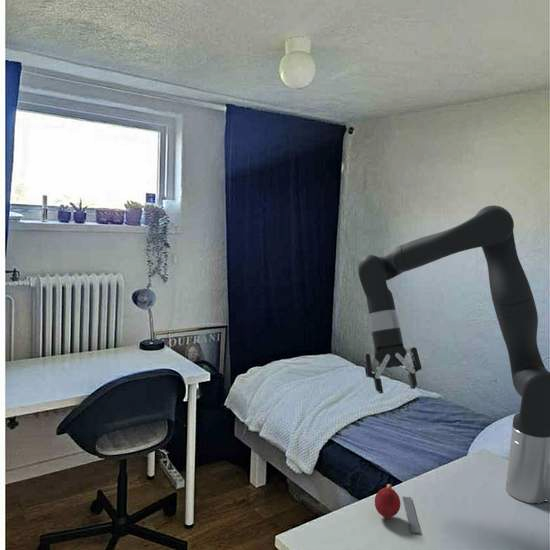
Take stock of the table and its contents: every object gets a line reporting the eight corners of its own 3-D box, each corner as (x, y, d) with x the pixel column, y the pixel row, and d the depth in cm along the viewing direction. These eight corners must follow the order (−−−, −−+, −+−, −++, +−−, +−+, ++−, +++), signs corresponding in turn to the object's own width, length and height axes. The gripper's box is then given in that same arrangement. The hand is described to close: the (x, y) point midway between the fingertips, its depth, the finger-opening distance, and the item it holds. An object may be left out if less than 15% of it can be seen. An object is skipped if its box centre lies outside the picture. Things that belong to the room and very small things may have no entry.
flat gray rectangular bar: (410, 498, 121) (411, 497, 121) (420, 534, 107) (420, 532, 107) (402, 497, 121) (402, 496, 121) (411, 533, 108) (411, 531, 108)
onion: (399, 527, 110) (403, 493, 109) (373, 523, 111) (376, 489, 110) (398, 512, 115) (401, 480, 114) (373, 508, 116) (376, 476, 115)
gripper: (362, 331, 126) (373, 395, 123) (415, 323, 127) (428, 387, 124) (356, 334, 133) (367, 394, 130) (407, 326, 134) (419, 386, 131)
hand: (397, 391), depth 127 cm, fingers open, 8 cm apart
